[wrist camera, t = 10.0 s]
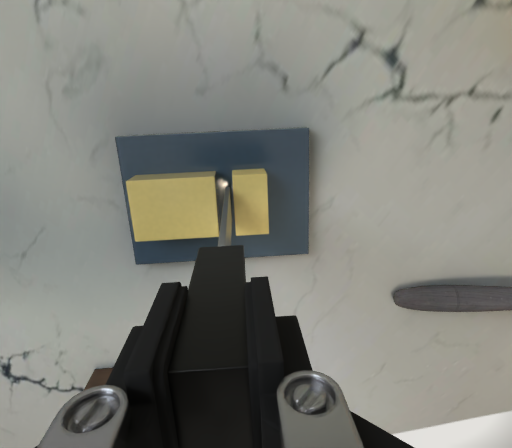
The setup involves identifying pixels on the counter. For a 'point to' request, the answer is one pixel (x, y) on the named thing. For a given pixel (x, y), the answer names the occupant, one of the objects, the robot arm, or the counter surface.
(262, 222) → the butter slice
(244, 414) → the knife
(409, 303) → the ladle
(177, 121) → the counter surface
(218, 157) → the butter dish
